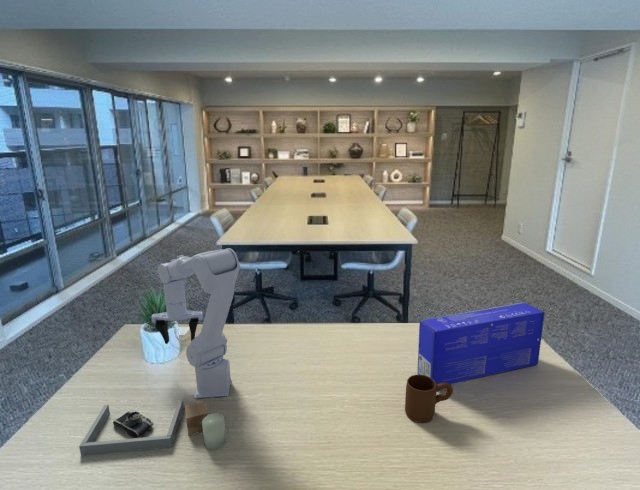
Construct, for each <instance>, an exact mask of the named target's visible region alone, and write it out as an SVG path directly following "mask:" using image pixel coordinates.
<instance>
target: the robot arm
mask: <svg viewBox="0 0 640 490" xmlns="http://www.w3.org/2000/svg"><path fill="white" fill-rule="evenodd" d="M240 264H241V263H240V261H239V258H238V255H237V253H236V252H235V250H233V249H232V248H230V247H229V248H228V247H227V248H225V249H224V248H223V249H222V248H221V249H216V250H208V251H205V252H201V253H197V254H195V255H193V256H191V257H190V256H184V254H181V255H178V256H176V258H173V259H170V262H165V263H160V264H159V265H158V267H157V274H158V277H159V280H160V281H161V282H162V283H163V291H164V298H165V299H164V301H165V307H166V308H165V310H166V311H165V312H160V313H153V314H152V315H151V318H150V319H151V323H153V324H154V323H155V325H154V326H155V329H156V330H158V332H159V333H160V335H161V336H162V338H163V342H164V343H165V344H166V345H168V344H169V342H170V334H169V324H168V322H170V321H171V322H172V321H173V322H177V321H187V320H189V322H188V327H189V332H190V343H189V345H188V346H187V348H186V349H185V350H186V353H185V354H186V358H187V361H188V363H189V365H191V366H192V367H193V368H194V370H195V371H194V372H195V382H196V388H195V392H194V394H193V398H194V399H201V398H202V399H203V398H213V397H214V398H215V397H227V396H229V393H230V388H231V384H232V377H231V367H230V364H231V363H230V360H229V359H226V358H224V356H225V355H226V354H227V351H228V346H227V342H228V339H227V337H226V335H225V334H224V333H223V331H224V329H225V328H224V327H225V325H226V321H227V319H228V315H229V312H230V308H231V306H232V303H233V302H232V301H233V299H234V295H235V285H236V284H235V283H236V282H237V279H238V276H239V272H240V269H241V265H240ZM193 274H194V275H195V276H196V278H197V280H198V282H199V284H200V286H201V288H202V290H203V292H204V293H206V294H210V297H209V300H208V303H207V307H206V310H205V311H206V312H205V315H203V314H204V312H203V311H198V310H197V311H196V310H188V309H187V298H186V290H185V285H186V284H187V280H186V279H187V278H188V277H190V276H193ZM203 318H204V319H203ZM202 320H203V323H202V327H201V330H200V333H199V334H198V335H196V331H197V326H198V324H199V321H202Z"/></svg>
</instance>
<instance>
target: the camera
mask: <svg viewBox="0 0 640 490" xmlns="http://www.w3.org/2000/svg"><path fill="white" fill-rule="evenodd" d="M112 423H113V424H112V425H113V427H116V426H117V425H122V427H123V428H124V431H125V433H126V434H127V435H128V436H129V437H131V438H132V439H133V438H142V437H143V436H144V435H146V434H147V433H148V432H150V431H151V430H152V429H153V426H154V422H153V421H152V420H151V418H149V417H146V415H145V416H144V415H143V414H141V413H140V412H139V411H136V410H135V411H133V410H132V411H127V412H125V413H124V414H123V415H121V416H120V417H118V418H116V419H115V420H113V421H112Z"/></svg>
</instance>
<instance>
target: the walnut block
mask: <svg viewBox="0 0 640 490" xmlns="http://www.w3.org/2000/svg"><path fill="white" fill-rule="evenodd" d="M184 409H185V419H186V420H185V421H186V427H187V436H192V435H195V434H196V435H197V434H199V433H203V426H202V421H203V419H204V418H205V417H206V416H208V415H209V412H208V408H207V403H206V400H203V401H199V402H194V403H192V404H191V403H190V404H187V405H184Z"/></svg>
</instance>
